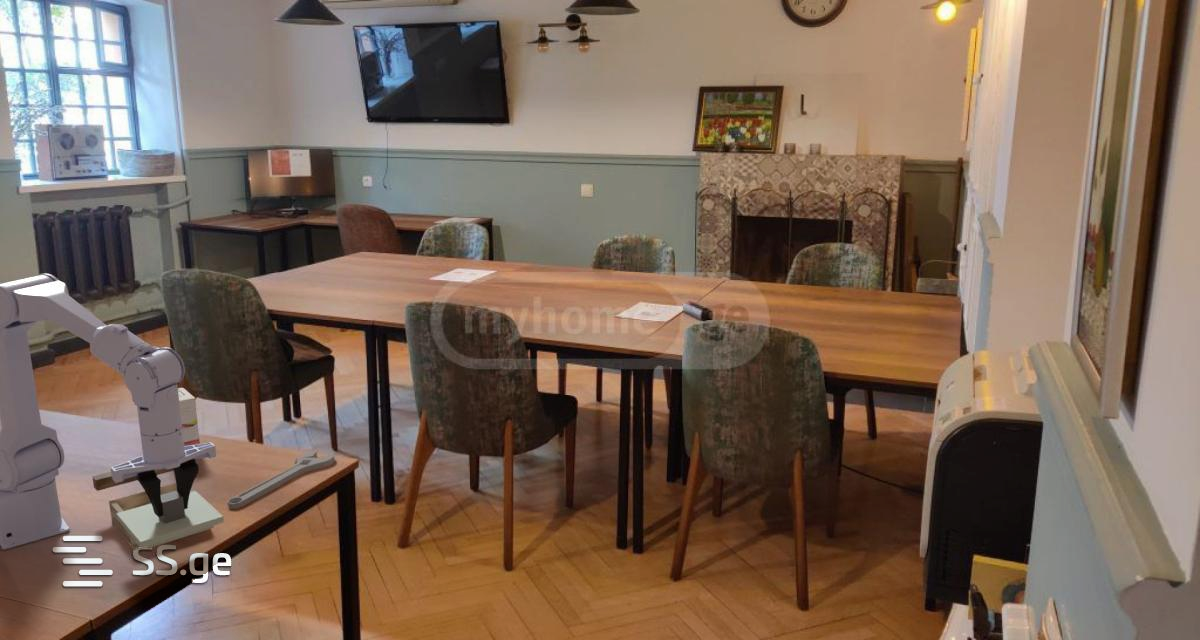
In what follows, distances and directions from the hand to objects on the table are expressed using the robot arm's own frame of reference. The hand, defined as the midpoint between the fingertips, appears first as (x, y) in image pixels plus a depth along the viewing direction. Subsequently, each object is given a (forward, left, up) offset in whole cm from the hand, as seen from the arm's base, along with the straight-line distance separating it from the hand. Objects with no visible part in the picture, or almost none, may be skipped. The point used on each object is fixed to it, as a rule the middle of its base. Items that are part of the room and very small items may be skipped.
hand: (171, 510), depth 135 cm
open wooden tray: (+2, +14, -9) cm, 17 cm away
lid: (0, +1, -3) cm, 3 cm away
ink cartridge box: (+16, +45, -9) cm, 49 cm away
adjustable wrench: (+25, +18, -9) cm, 32 cm away
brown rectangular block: (+2, +24, -3) cm, 24 cm away
